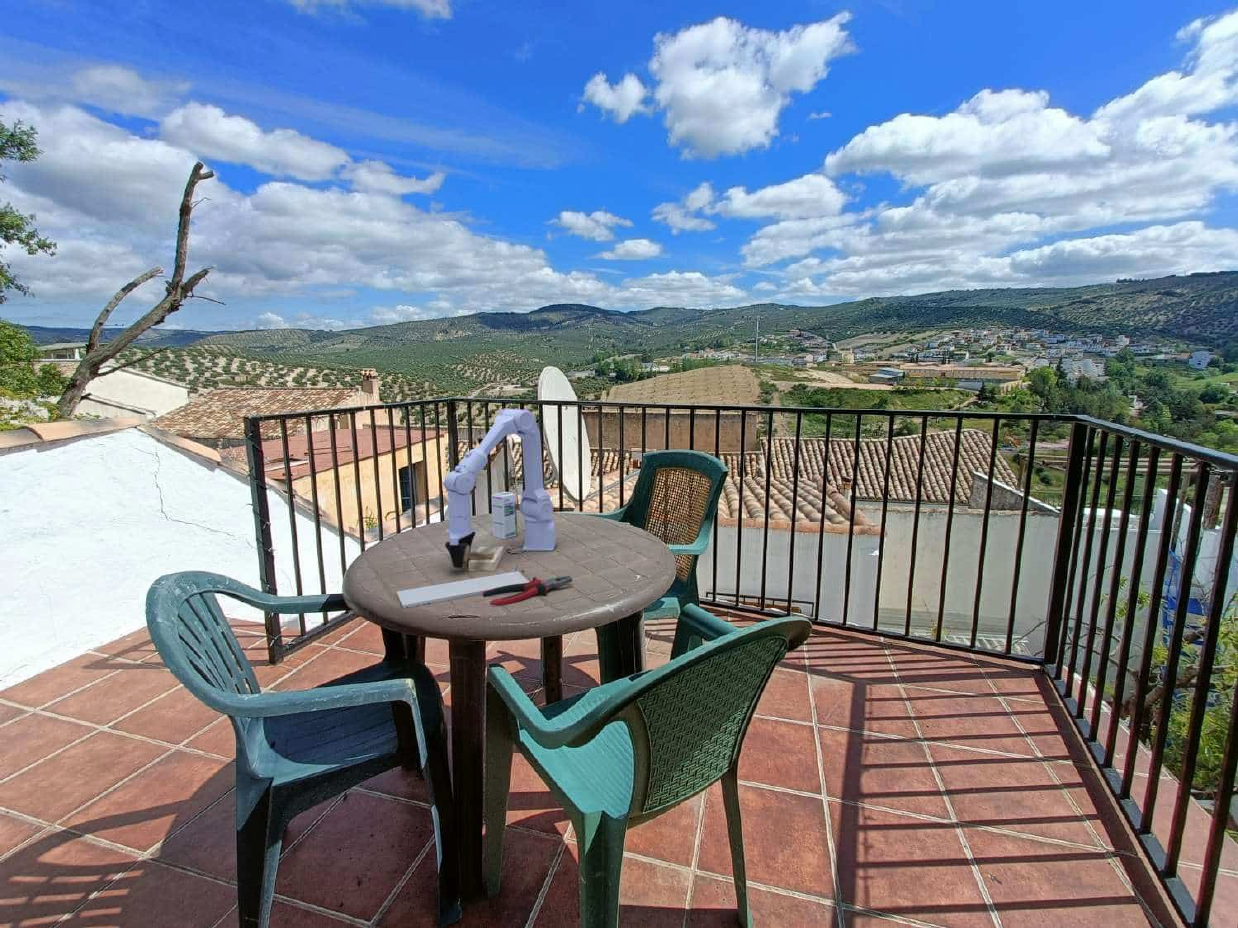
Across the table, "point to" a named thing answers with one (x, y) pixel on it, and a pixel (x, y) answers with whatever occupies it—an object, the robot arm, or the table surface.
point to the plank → (486, 559)
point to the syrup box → (504, 515)
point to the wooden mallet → (472, 555)
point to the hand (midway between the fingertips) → (461, 562)
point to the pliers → (531, 589)
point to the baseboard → (458, 589)
